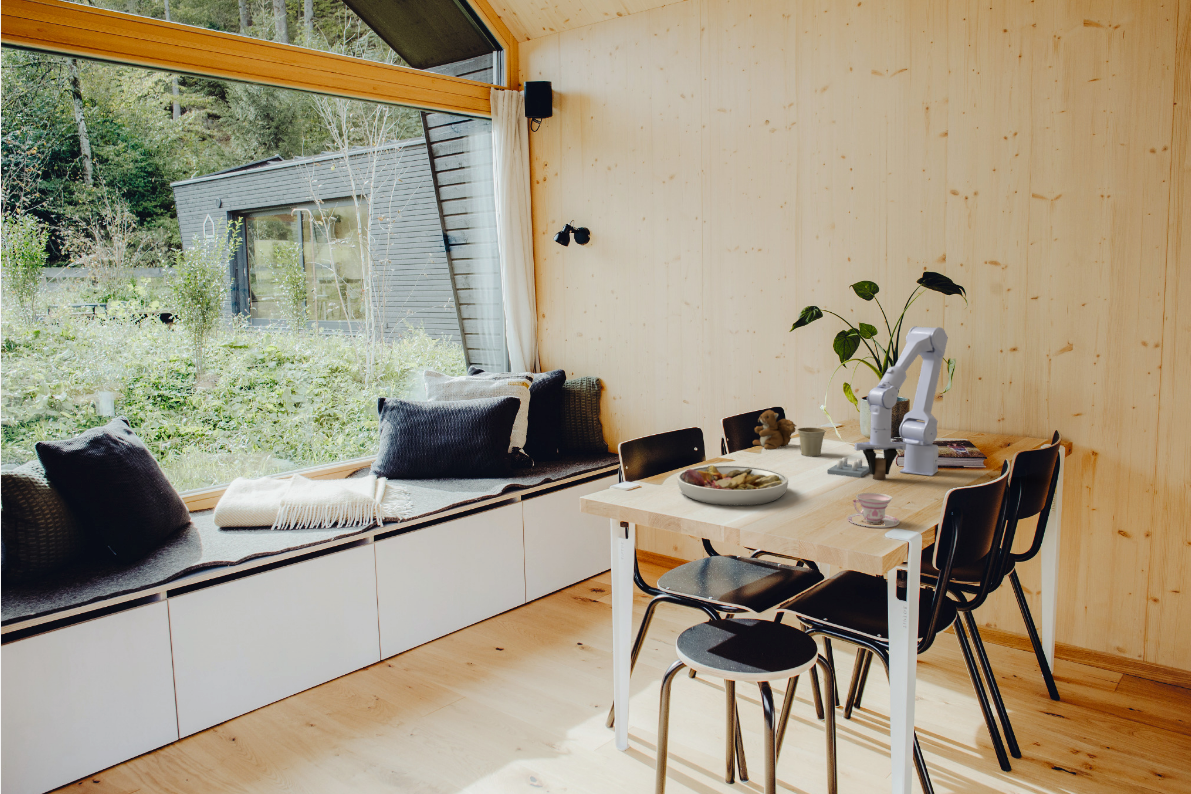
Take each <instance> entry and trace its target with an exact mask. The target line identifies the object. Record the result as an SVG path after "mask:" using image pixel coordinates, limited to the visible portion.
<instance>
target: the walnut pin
mask: <svg viewBox="0 0 1191 794" xmlns="http://www.w3.org/2000/svg"><path fill="white" fill-rule="evenodd" d="M886 479H887V478H886V459H885V458H884V457H879V456H878V457H877V456H876V459H875V474H874V475H872V480H875V481H884V480H886Z"/></svg>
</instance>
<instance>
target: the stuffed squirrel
mask: <svg viewBox="0 0 1191 794" xmlns="http://www.w3.org/2000/svg"><path fill="white" fill-rule="evenodd" d="M778 417H779V413H777V412H775V411H774V410H771V409H768V410H765V411H764V412H762V414H760V415H759V418H758V419H757V422H758V423H761V424H762V425H760V426H756V427H754V433H756V434H759V436H760V438H759V439H754V440H753V441H752V444H753V446H761V447H763V448H764V449H765V450H776V449H779V448H781V447H782V446H783V447H786V446H787V445H788V444H790V442H791V439H792V434H794V433H795V432H796V427H797V425H796V424H795V423H794V421H792V420H791V419H787V418H782V419H780V420H778V421H777V419H778ZM780 446H781V447H780Z"/></svg>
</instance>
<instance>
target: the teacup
mask: <svg viewBox="0 0 1191 794" xmlns="http://www.w3.org/2000/svg"><path fill="white" fill-rule="evenodd" d="M855 497H856V499H857V500H856V499H854V500H852V502H853V507H854V509H855V510H856V512H857V513H852V514H850V515H848V516H847V518H846V519H847V521H848V522H849V521H850V522H849V523H851V524H853V523H854V524H853V525H856V524H857V526H860V525H861V527H865V526H866V527H865V528H873V529H874V528H875V529H879V528H881V529H886V528H892V527H894V528H895V527H896V526H898V525H900V520H899V519H898V518H896V517H894V516H891V515H888V514H886V509H887V507H888V504H889V503H890V502H891V501H892V499H893V496H891V495H889V494H886V493H881V492H880V493H877V492H867V493H866V492H865V493H864V492H863V493H858V494H856V495H855ZM857 503H859V504H860V506H861V511H860V510H859V509H858V507H857ZM860 515H862V516H863V517H864V518H865V519H864V520H865V522H867V521H868V522H867V523H871V522H873V523H872V524H879V523H881V521H882V523H883V521H884V523H883V524H882V525H884V524H885V526H869V525H863V524H858V523H855V522H853V521H852V517H855V516H860ZM878 522H879V523H878Z"/></svg>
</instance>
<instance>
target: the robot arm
mask: <svg viewBox="0 0 1191 794" xmlns="http://www.w3.org/2000/svg"><path fill="white" fill-rule="evenodd" d="M905 343H906V344H905V345H904V348H903V349H902V352H901V354H900V355H899V357H898V359H897V361H896V363H895V365H894V366H890V367H888V368H887V370H886V372H885V373H884V375H883V376H882V378H881V379H880V381H879V383H878V384H877V386H875V387H872V389H870V390H869V392H868V394H867V396H866V402H867V404H868V406H869V409H868V411H869V412H870V429H869V431H870V432H869V433H870V435H869V437H870V438H869V441H866V442H865V441H864V442H855V443H854V448H853V449H854V450H855V451H862V452H863V454H864V457H865V458H866V462H867V464H868V465H867V466H869V471H870V472H869V474H870V475H872V476H873V475H874V474H875V459H876V458H877V453H876V452H875V450H877V451H881V450H882V451H883V458H885V459H886V475H887V476H888V475H889V474H890V471H891V467H892V464H893V463H894V460H895V459H896V457H897V456H898V450H899V451H901V450H902V451H904V458H903V468H902V469H900V470H899V472H900V473H906V474H914V475H924V476H930V477H933V475H935V474H936V473H937V472H938V471H939V469H938V468H939V467H938V466H939V446H938V444H933V443H934V442H935V440H936V438H938V437H937V436H938V420H937V418H936V417H935V416H934V415H933V414H932V410H933V405H934V400H935V396H936V391H937V386H938V382H939V379H940V372H941V369H942V363H943V358H944V356H945V353H946V348H947V345H948V344H947V343H948V335H947V333H946V330H945V329H944V328H943V327H940V326H939V327H928V326H917V325H916V326H915V325H914V326H912V327H910V328H909V330H908V332H907V334H906V336H905ZM919 355H920V356H921V358H922V363H921V367H920V373H919V378H918V382H917V386H916V390H915V391H916V392H915V396H914V399H913V400H914V401H913V404H912V409H910V410H909V411H908V412H906V413H905V414H904V416H903V419H902V421H901V423H900V425H899V428H898V432H899V433H898V434H899V436H900V438H901V439H902V442H901V441H896V442H895V441H892V438H891V437H892V411H893V407H894V406H895V405H896V404H897V402H898V396H899V390H900V389H901V387H902V385H903V384H904V383H905V381H906V380H907V378H908V377H907V376H908V375H907V373H906V372H907V371H908V369H909V368H910V366H911V365H912V364H913V363H914V361H915V360H916V359H917V357H919Z"/></svg>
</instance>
